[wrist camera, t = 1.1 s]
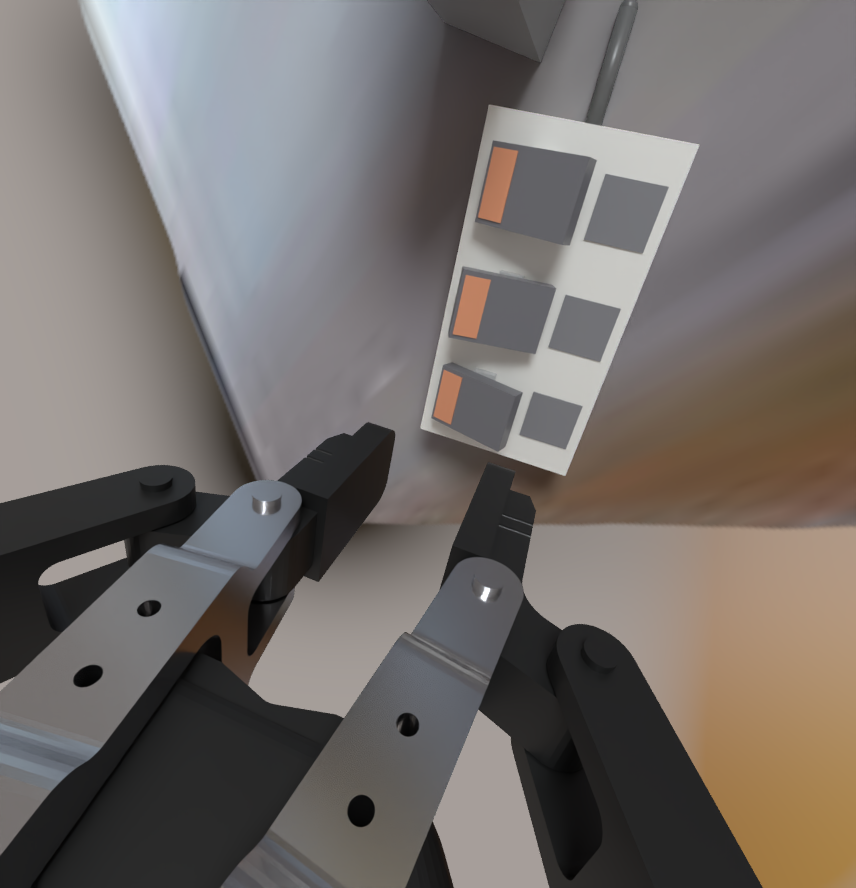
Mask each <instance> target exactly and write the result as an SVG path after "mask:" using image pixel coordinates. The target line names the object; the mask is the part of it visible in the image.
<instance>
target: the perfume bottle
mask: <svg viewBox="0 0 856 888" xmlns="http://www.w3.org/2000/svg"><path fill="white" fill-rule="evenodd" d="M427 1H428V2H429V3H430V5H431V6H432V7H433V8H434V10H435V11H436V12H437V14H438V15H439V16H440V17H441V19H442V20H443V21H444V23H447V24H449V25H451V26H454V27H456V28H459V29H461V30H463V31H466V32H468V33H471V34H473V35H475V36H478V37H480V38H482V39H485V40H487V41H490V42H492V43H494V44H497V45H499V46H501V47H504V48H506V49H509V50H511V51H513V52H516V53H518V54H520V55H523V56H525V57H528V58H530V59H532V60H535V61H537V62H539V63H541V61H542V58H543V55H544V53H545V50H546V48H547V45H548V43H549V40H550V38H551V35H552V33H553V30H554V28H555V25H556V23H557V20H558V17H559V15H560V12H561V10H562V7H563V5H564V2H565V0H427Z"/></svg>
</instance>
